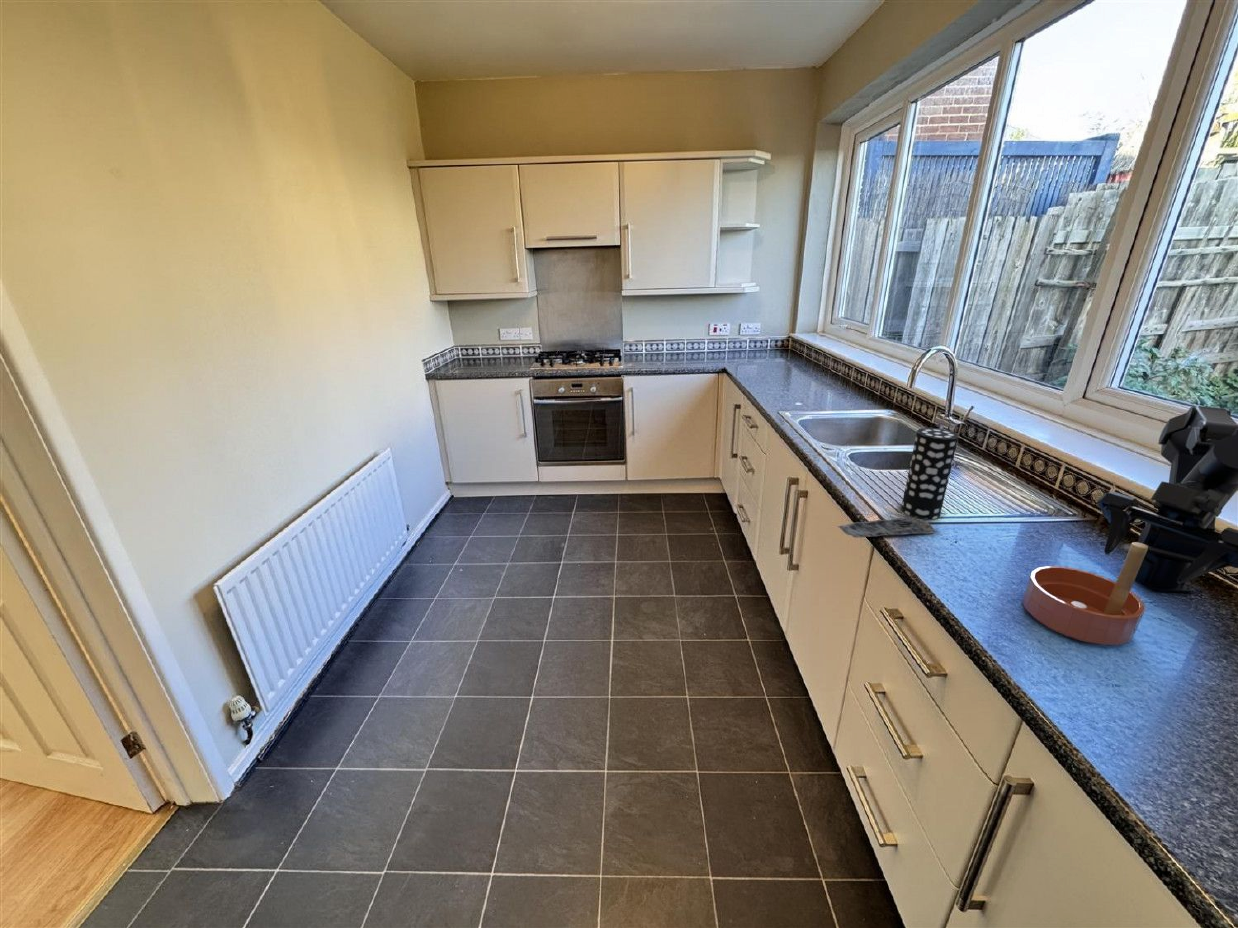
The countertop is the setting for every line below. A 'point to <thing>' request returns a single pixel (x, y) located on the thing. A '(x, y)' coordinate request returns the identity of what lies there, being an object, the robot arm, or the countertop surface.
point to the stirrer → (1123, 580)
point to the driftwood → (887, 527)
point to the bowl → (1076, 621)
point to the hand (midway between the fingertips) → (1140, 566)
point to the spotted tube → (929, 472)
